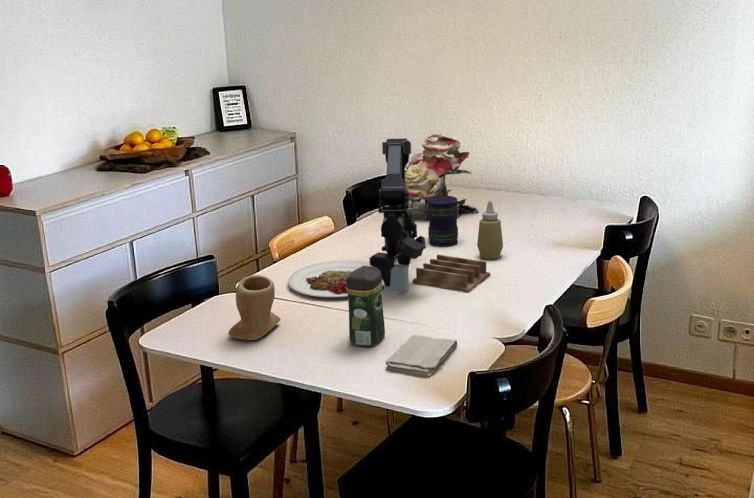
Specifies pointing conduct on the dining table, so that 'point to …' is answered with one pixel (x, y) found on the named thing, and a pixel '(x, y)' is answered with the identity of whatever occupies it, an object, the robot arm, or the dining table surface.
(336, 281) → the plated food
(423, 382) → the dining table surface
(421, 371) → the washcloth
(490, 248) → the squeeze bottle
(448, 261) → the dish rack
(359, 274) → the coffee jar
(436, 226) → the storage jar
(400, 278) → the plate tile
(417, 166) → the rose bouquet
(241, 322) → the stone cup
